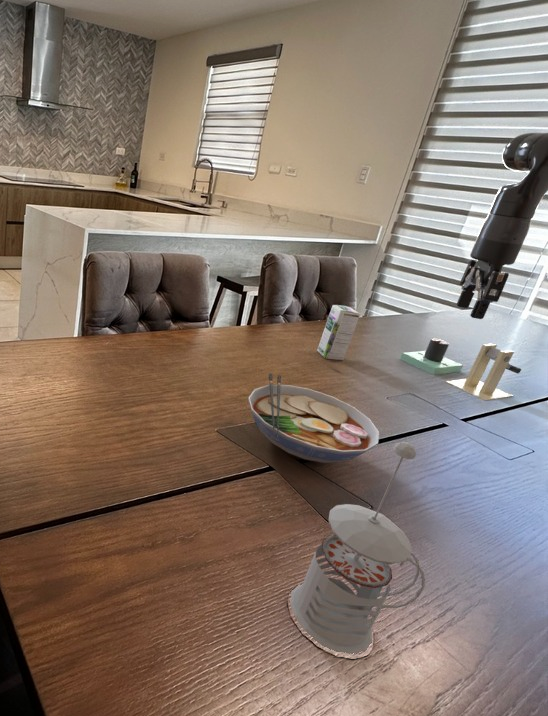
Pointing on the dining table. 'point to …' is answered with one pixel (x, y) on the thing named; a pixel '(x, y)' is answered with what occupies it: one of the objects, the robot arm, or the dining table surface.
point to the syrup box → (338, 332)
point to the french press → (353, 574)
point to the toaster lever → (493, 355)
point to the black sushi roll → (436, 350)
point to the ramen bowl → (311, 423)
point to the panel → (431, 363)
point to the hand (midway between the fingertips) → (468, 312)
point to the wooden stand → (488, 387)
